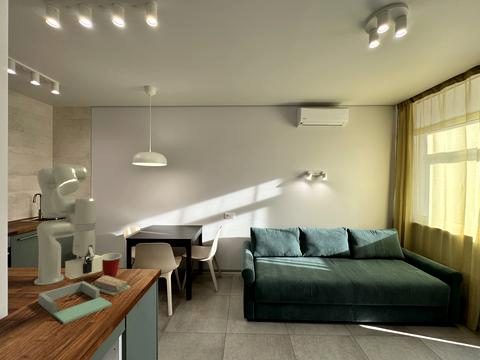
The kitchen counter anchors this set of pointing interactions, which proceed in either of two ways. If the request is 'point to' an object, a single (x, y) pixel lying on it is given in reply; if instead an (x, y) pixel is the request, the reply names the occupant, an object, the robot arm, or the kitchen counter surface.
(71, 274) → the carton
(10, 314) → the kitchen counter surface
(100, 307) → the pad
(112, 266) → the plastic cup
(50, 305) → the frame
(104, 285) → the packaged product
